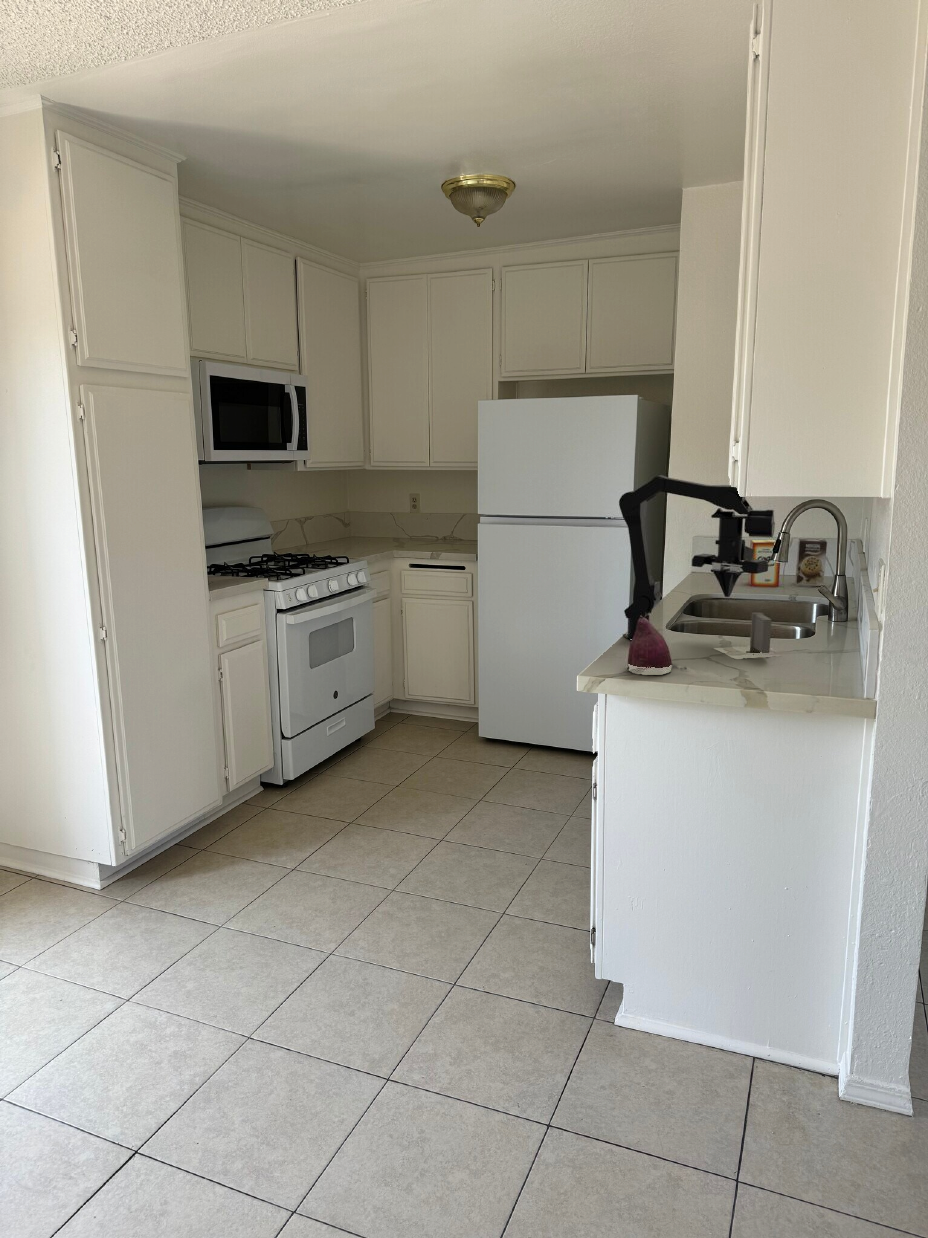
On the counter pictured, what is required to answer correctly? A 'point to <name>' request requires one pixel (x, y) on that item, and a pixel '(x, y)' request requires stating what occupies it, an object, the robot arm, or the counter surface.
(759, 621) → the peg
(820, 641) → the counter surface
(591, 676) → the counter surface
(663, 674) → the counter surface
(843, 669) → the counter surface
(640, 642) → the vegetable
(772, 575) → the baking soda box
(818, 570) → the cookie box
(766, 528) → the robot arm
